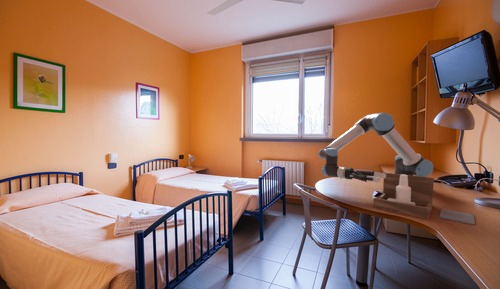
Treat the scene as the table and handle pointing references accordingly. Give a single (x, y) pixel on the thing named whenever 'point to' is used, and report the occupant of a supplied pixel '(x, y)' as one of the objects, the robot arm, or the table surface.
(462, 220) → the mat
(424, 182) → the rack
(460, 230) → the table surface
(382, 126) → the robot arm
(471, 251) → the table surface
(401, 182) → the spray bottle
